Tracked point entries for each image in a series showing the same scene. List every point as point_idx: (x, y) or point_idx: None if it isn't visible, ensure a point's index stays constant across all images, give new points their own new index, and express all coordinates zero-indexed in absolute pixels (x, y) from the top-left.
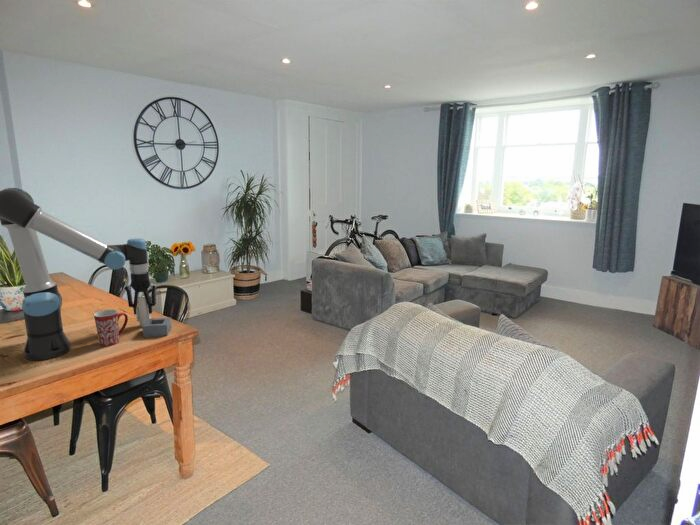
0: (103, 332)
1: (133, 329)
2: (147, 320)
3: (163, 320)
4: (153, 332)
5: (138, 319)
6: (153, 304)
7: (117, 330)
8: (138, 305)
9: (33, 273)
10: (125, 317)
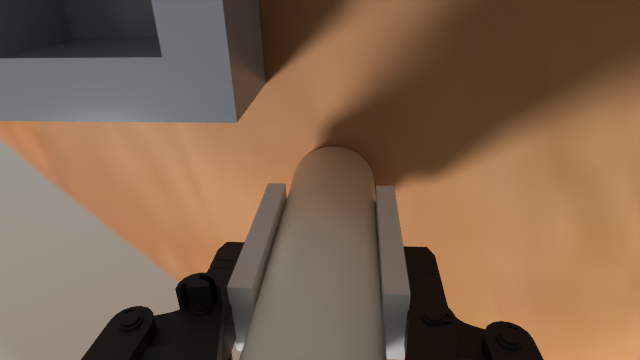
0: None
1: (416, 96)
2: (215, 47)
3: (28, 53)
4: None
5: (378, 197)
6: (124, 322)
7: None
8: (365, 327)
9: None
10: None
